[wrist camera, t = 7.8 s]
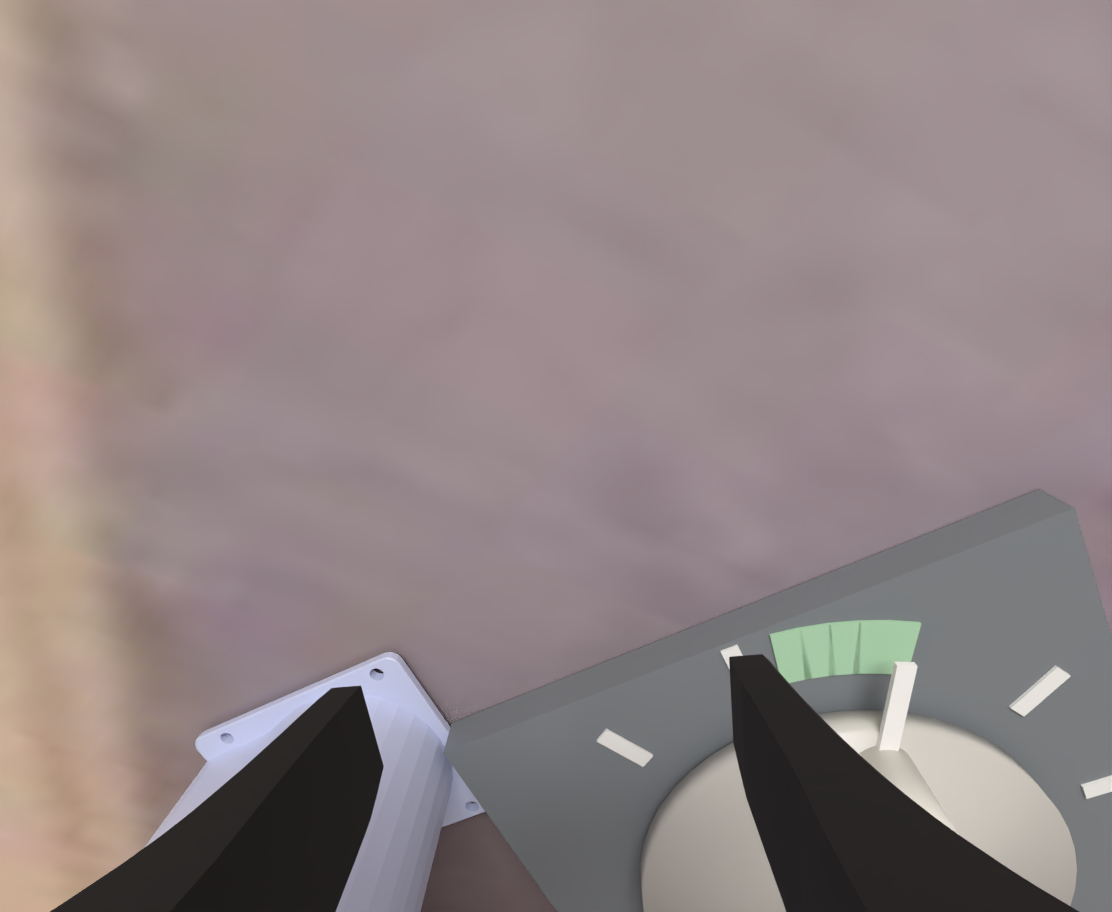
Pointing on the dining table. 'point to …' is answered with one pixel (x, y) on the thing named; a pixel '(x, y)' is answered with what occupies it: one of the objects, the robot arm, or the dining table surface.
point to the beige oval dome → (900, 756)
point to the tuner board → (820, 696)
